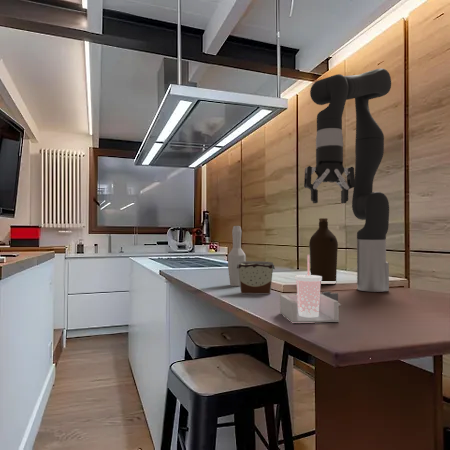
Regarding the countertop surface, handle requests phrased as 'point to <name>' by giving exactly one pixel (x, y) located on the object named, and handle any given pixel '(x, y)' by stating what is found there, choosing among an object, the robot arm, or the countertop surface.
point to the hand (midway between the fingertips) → (329, 203)
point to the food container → (255, 277)
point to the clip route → (331, 296)
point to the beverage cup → (308, 293)
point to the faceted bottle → (235, 257)
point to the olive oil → (323, 252)
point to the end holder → (326, 314)
